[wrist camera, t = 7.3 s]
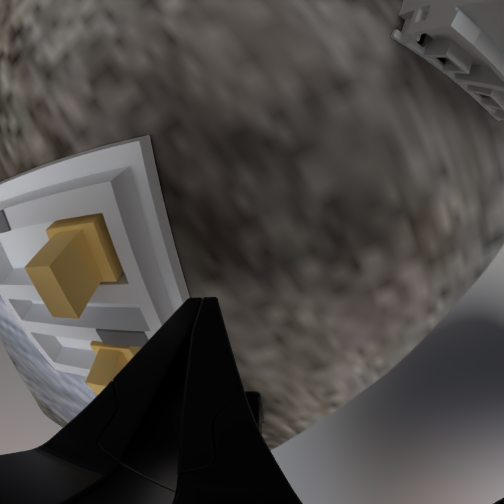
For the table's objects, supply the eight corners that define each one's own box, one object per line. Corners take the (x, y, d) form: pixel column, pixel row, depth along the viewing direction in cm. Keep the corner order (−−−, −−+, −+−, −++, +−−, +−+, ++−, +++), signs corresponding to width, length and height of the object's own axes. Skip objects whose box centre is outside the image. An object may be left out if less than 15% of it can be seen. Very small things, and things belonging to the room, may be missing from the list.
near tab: (111, 203, 12) (60, 260, 8) (130, 258, 13) (94, 323, 10) (64, 211, 12) (12, 263, 8) (84, 261, 13) (45, 319, 10)
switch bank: (149, 134, 11) (118, 153, 9) (211, 362, 20) (206, 398, 17) (-17, 189, 12) (-46, 211, 10) (67, 349, 21) (55, 376, 18)
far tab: (137, 326, 16) (116, 386, 12) (153, 355, 18) (138, 410, 14) (99, 324, 16) (74, 378, 13) (117, 352, 18) (98, 403, 14)
